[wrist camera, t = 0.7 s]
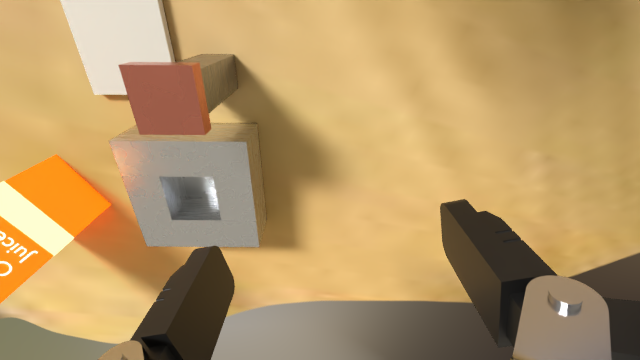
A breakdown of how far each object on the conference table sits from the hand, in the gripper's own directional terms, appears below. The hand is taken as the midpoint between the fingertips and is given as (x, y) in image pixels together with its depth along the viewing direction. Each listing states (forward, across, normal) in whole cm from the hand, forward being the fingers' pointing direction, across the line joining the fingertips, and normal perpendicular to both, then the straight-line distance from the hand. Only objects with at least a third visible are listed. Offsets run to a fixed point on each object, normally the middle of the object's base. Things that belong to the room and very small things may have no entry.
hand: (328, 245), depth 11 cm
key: (+21, +9, -6) cm, 23 cm away
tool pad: (+20, +16, -11) cm, 28 cm away
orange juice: (+22, +32, +3) cm, 39 cm away
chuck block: (+21, +14, +4) cm, 26 cm away
